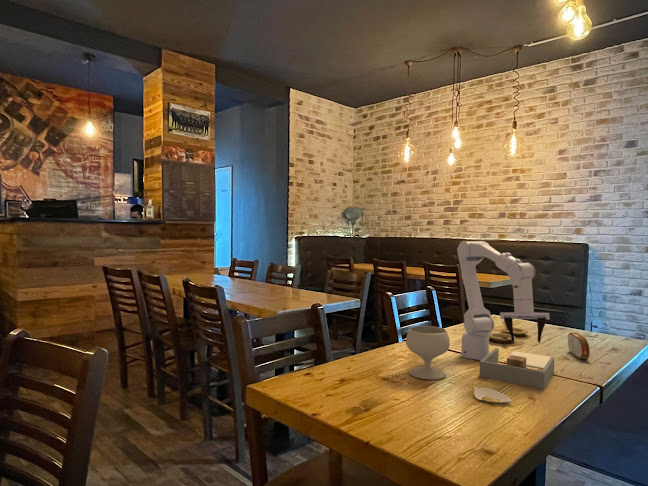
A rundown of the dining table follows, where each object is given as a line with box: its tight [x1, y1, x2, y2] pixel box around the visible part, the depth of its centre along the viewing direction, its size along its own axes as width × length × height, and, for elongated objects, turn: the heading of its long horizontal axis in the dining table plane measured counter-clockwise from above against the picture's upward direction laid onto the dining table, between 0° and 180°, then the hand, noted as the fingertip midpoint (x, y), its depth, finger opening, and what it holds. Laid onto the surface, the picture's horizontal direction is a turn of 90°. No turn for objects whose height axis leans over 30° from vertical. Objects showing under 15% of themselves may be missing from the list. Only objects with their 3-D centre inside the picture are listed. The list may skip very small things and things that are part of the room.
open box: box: [479, 347, 555, 390], centre depth 141 cm, size 19×20×5 cm
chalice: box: [405, 325, 451, 381], centre depth 140 cm, size 14×14×15 cm
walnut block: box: [506, 354, 527, 369], centre depth 140 cm, size 5×5×6 cm
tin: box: [567, 332, 591, 360], centre depth 163 cm, size 15×3×8 cm, turn 168°
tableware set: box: [489, 320, 531, 350], centre depth 189 cm, size 30×20×6 cm, turn 138°
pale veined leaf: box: [472, 384, 514, 404], centre depth 120 cm, size 8×12×2 cm, turn 42°
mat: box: [503, 350, 552, 370], centre depth 157 cm, size 14×16×1 cm
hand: (526, 341), depth 138 cm, fingers open, 7 cm apart
